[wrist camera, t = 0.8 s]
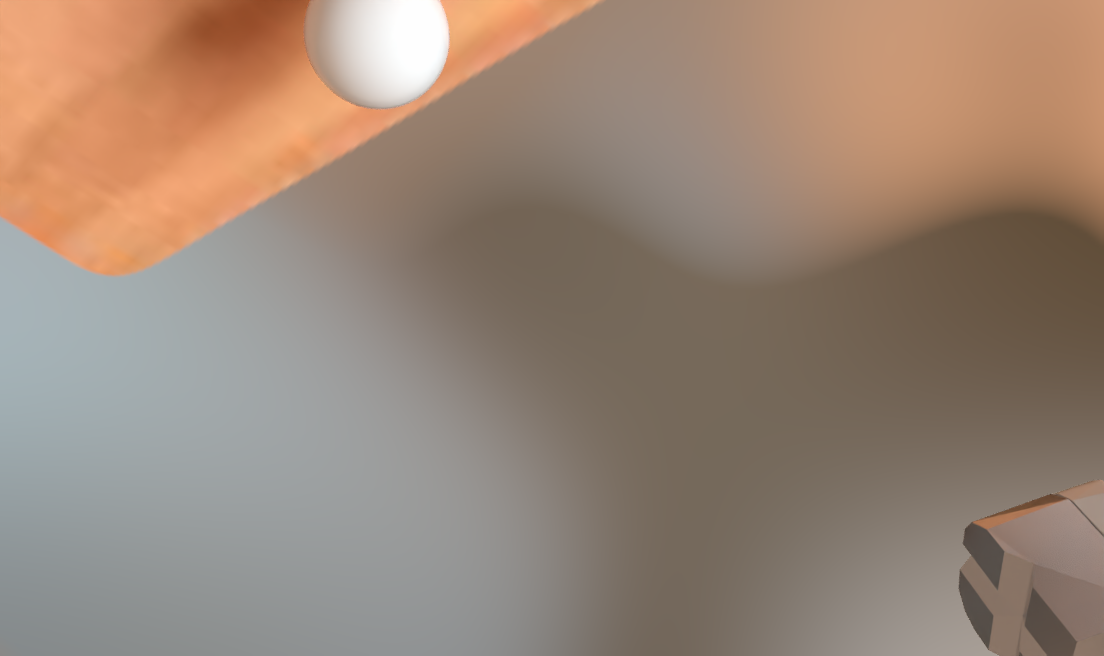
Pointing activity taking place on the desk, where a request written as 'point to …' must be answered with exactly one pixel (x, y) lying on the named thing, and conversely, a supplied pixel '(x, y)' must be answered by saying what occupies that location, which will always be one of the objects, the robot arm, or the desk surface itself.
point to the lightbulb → (377, 48)
